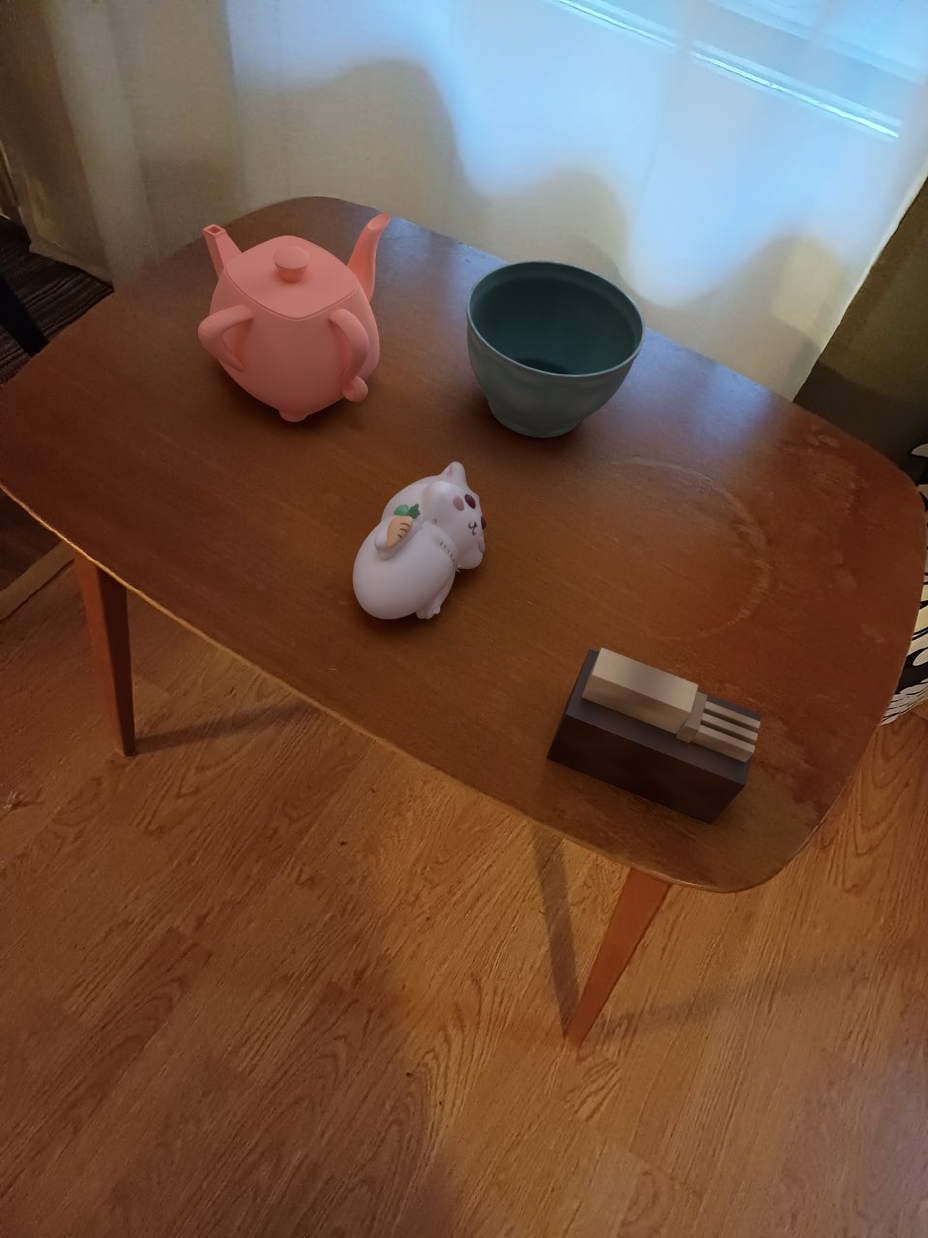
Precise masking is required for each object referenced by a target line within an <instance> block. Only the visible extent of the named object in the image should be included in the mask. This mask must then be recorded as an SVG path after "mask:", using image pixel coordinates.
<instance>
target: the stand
mask: <svg viewBox="0 0 928 1238" xmlns="http://www.w3.org/2000/svg"><path fill="white" fill-rule="evenodd" d="M599 652H600V650H596V649H594V648H591V647H590V648H589V649H588V652H587V654H586V656H585V658H584V661H583V663H582V666H581V668H580V671H579V673H578V675H577V676H576V677H577V678H576V680H575V682H574V684H573V687H572V689H571V691H570V694H569V696H568V699H567V701H566V704H565V707H564V709H563V712H562V715H561V718H560V719H559V722H558V724H557V725H558V726H557V728H556V730H555V734H554V736H553V738H552V741H551V744H550V747H549V749H548V752H547V755H546V759H548V760H551V761H553V762H555V763H558V764H561V765H564V766H565V767H568V768H570V769H573V770H575V771H577V772H581V773H583V774H586V775H588V776H591V777H593V778H595V779H598V780H599V781H602V782H605V783H608V784H610V785H612V786H615V787H617V788H620V789H622V790H625V791H628V792H629V793H632V794H635V795H638V796H639V797H642V798H645V799H647V800H650V801H652V802H655V803H657V804H660V805H662V806H664V807H667V808H670V809H672V810H675V811H677V812H679V813H682V814H685V815H687V816H690V817H692V818H694V819H696V820H699V821H702V822H703V823H706V824H708V825H712V824H713V823H714V822H715V821H716V819H717V818H719V816H720V815H721V814H722V813H723V812H724V811H725V809H726V808H728V806H729V805H730V804H731V803H732V801H733V800H734V799H735V798H736V797H737V796H738V795H739V794H740V793H741V792H742V791H743V789H744V788H745V787H746V785H747V782H748V776H749V773H750V768H751V763H752V759H753V754H754V753H753V754H752V756H751V757H750V758H749V759H748V760H747V761H746V763H745V762H742V761H740V760H737V759H734V758H732V757H729V756H727V755H724V754H722V753H719V752H717V751H714V750H712V749H709V748H706V747H704V746H701V745H699V744H696V743H694V742H690V743H687V742H684V741H682V740H679V739H677V738H676V735H677V734H674V733H671V732H669V731H666V730H664V729H661V728H659V727H656V726H654V725H651V724H648V723H646V722H643V721H641V720H638V719H636V718H633V717H631V716H628V715H625V714H623V713H620V712H618V711H615V710H613V709H610V708H608V707H605V706H603V705H600V704H597V703H595V702H592V701H590V700H587V699H585V698H582V694H583V692H584V689H585V686H586V683H587V681H588V678H589V675H590V672H591V670H592V668H593V665H594V663H595V661H596V659H597V656H598V654H599ZM697 691H698V692H700V693H703V694H705V695H707V700H706V701H708V702H710V703H713V704H715V705H718V706H721V707H723V708H726V709H728V710H731V711H733V712H736V713H739V714H741V715H744V716H746V717H749V718H752V719H754V720H757V721H759V722H761V719H762V714H761V713H759V712H756V711H753V710H751V709H748V708H745V707H743V706H741V705H738V704H736V703H733V702H730V701H728V700H725V699H723V698H720V697H718V696H715V695H712V694H709V693H707V692H705V691H703V690H700V689H697ZM756 733H757V734H759V730H758V731H757V732H756ZM753 745H754V746H755V747H756V742H755V743H754V744H753Z"/></svg>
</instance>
